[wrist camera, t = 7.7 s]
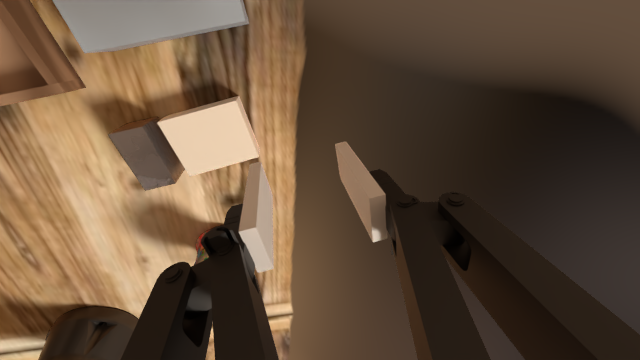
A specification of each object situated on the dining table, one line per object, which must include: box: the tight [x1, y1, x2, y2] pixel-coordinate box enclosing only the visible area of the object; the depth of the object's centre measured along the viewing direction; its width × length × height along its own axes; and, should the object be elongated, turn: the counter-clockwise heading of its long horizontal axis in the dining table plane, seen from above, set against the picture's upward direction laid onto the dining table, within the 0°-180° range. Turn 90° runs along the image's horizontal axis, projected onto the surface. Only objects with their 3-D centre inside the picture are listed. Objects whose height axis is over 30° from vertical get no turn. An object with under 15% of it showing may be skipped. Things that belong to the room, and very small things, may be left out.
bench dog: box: [108, 117, 185, 191], centre depth 32 cm, size 4×8×4 cm, turn 10°
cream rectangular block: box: [157, 96, 260, 176], centre depth 33 cm, size 10×8×4 cm
